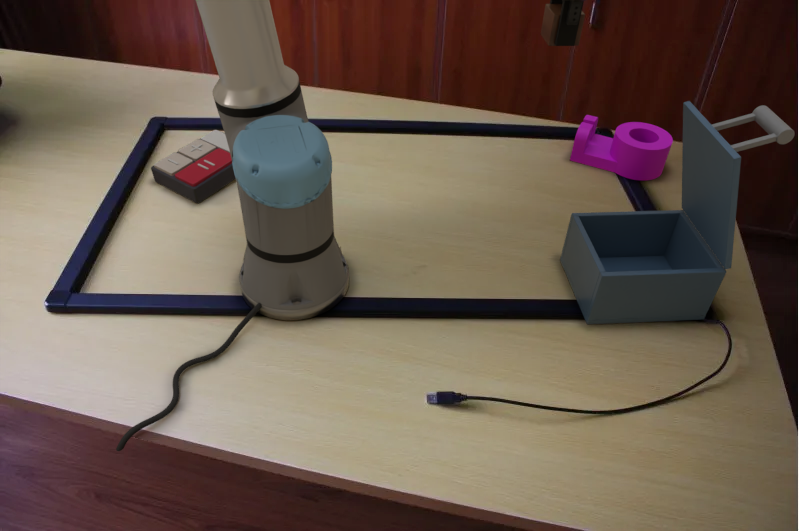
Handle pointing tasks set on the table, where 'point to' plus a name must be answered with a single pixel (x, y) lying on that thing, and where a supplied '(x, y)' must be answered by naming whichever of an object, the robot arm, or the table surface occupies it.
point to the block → (556, 24)
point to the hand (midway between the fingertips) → (559, 37)
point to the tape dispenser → (623, 149)
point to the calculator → (197, 167)
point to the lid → (719, 173)
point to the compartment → (639, 267)
